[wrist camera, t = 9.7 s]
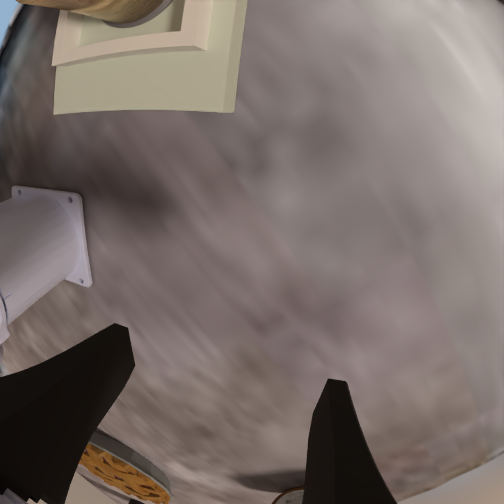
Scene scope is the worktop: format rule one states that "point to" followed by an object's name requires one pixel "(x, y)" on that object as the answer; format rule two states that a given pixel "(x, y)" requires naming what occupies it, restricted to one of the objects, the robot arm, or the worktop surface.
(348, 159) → the worktop surface
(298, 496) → the tin
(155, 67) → the cream peg hole base
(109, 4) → the spout can
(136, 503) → the travel mug
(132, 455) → the pie
